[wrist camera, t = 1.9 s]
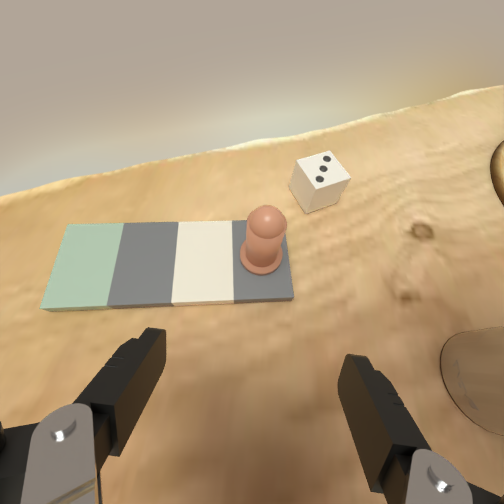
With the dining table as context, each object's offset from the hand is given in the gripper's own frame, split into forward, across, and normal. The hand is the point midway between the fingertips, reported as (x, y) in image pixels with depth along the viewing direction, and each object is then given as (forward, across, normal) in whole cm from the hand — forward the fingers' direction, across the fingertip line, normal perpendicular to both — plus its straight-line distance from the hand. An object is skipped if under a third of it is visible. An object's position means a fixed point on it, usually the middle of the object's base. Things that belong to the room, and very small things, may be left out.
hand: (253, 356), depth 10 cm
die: (+26, -7, -6) cm, 28 cm away
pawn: (+17, 0, +2) cm, 17 cm away
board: (+17, +9, +4) cm, 20 cm away
